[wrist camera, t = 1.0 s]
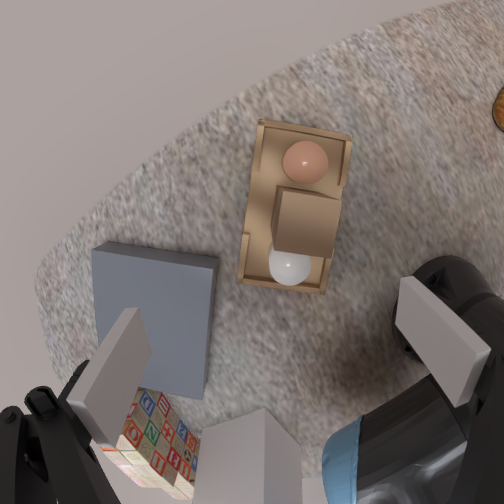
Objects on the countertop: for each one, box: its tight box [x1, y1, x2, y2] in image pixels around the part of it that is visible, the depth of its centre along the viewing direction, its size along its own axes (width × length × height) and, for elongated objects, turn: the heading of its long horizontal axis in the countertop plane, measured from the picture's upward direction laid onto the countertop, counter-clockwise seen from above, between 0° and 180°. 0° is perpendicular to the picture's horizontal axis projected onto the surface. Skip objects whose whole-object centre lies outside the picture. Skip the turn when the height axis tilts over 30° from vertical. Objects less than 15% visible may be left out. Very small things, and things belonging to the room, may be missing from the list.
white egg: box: [268, 241, 311, 286], centre depth 28 cm, size 4×4×4 cm
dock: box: [92, 242, 219, 400], centre depth 34 cm, size 14×18×4 cm
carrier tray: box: [236, 119, 353, 295], centre depth 26 cm, size 16×9×13 cm, turn 172°
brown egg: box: [281, 141, 328, 184], centre depth 25 cm, size 4×4×4 cm
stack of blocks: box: [92, 387, 200, 499], centre depth 36 cm, size 21×6×12 cm, turn 20°
